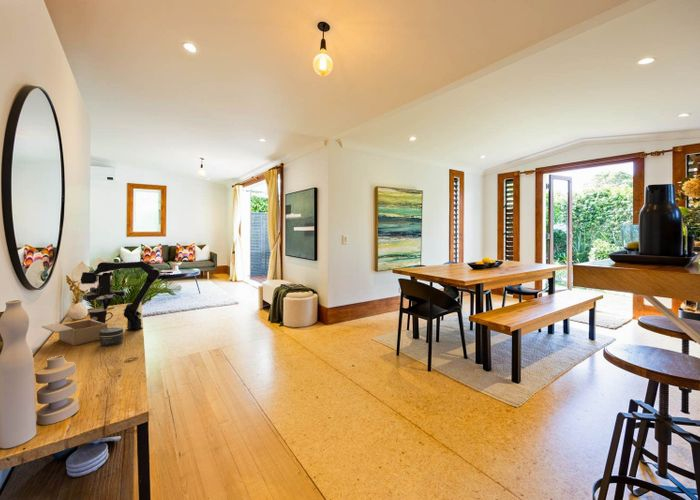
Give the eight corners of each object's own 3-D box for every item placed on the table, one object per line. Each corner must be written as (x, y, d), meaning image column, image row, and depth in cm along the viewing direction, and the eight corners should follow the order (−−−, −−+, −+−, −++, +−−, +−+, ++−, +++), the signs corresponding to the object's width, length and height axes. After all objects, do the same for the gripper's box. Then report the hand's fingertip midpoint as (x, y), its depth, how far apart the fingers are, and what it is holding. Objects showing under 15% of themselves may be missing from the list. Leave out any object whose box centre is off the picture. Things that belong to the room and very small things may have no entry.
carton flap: (58, 323, 167) (41, 326, 161) (73, 328, 159) (56, 331, 153) (58, 324, 167) (41, 327, 161) (73, 329, 159) (56, 332, 153)
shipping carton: (91, 332, 181) (91, 318, 180) (107, 338, 171) (107, 324, 171) (58, 339, 168) (58, 324, 167) (74, 346, 159) (74, 330, 158)
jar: (118, 346, 160) (118, 331, 160) (95, 348, 157) (95, 333, 157) (126, 340, 170) (126, 326, 169) (104, 341, 166) (104, 327, 166)
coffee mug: (85, 327, 189) (85, 311, 189) (100, 323, 198) (100, 308, 197) (99, 329, 186) (99, 313, 186) (114, 325, 194) (114, 310, 194)
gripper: (115, 280, 193) (115, 305, 194) (78, 283, 177) (78, 311, 177) (125, 282, 188) (125, 307, 188) (87, 285, 171) (87, 313, 172)
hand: (104, 309), depth 182 cm, fingers closed
